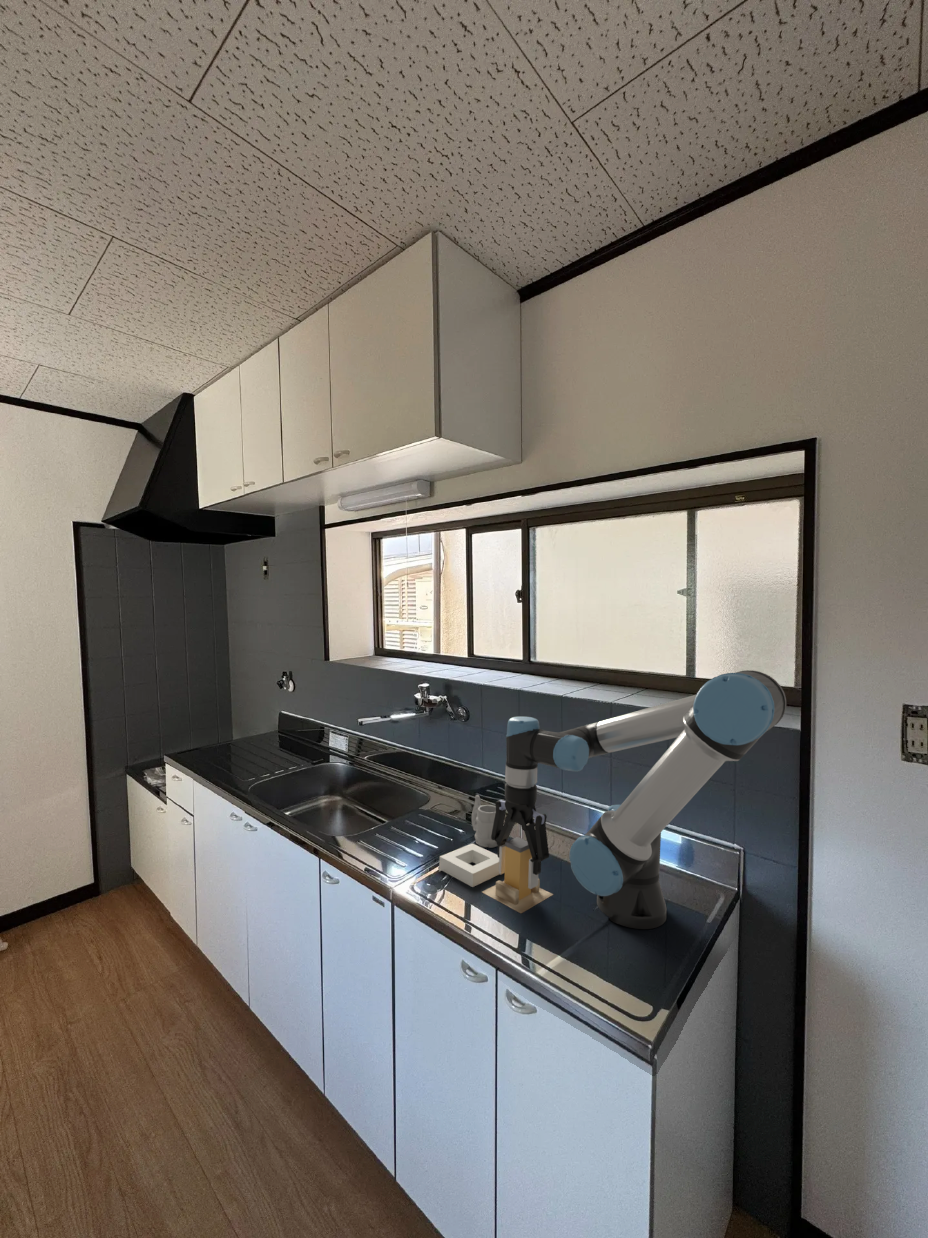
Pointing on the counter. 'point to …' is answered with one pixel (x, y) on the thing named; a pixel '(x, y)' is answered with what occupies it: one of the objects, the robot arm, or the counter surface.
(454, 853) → the port
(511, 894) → the beige plate with rail
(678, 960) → the counter surface
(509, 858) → the plug
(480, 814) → the mug
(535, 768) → the robot arm
